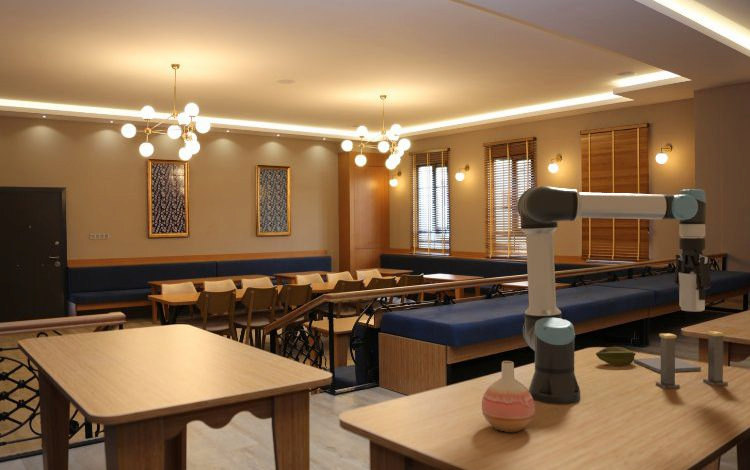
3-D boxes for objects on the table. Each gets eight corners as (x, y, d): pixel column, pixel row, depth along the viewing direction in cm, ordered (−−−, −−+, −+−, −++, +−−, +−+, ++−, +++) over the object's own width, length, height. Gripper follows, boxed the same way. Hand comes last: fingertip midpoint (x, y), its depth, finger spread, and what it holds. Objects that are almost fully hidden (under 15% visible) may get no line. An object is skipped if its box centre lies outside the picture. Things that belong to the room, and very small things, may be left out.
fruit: (629, 369, 224) (629, 351, 223) (595, 365, 231) (595, 347, 231) (637, 363, 233) (637, 345, 233) (604, 359, 240) (604, 342, 240)
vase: (524, 441, 155) (524, 371, 154) (473, 432, 162) (473, 364, 162) (541, 425, 167) (541, 359, 166) (493, 417, 174) (492, 354, 173)
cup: (709, 312, 198) (709, 274, 197) (682, 311, 199) (682, 274, 199) (701, 308, 206) (701, 272, 205) (675, 307, 207) (675, 271, 207)
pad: (659, 372, 219) (659, 369, 219) (633, 362, 235) (633, 359, 235) (700, 370, 221) (700, 367, 221) (672, 360, 237) (672, 357, 237)
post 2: (713, 386, 202) (714, 334, 201) (703, 382, 207) (703, 331, 206) (727, 385, 202) (728, 333, 202) (717, 381, 207) (717, 330, 207)
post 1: (665, 389, 199) (665, 336, 198) (655, 384, 204) (656, 333, 203) (679, 388, 200) (679, 335, 199) (669, 383, 205) (670, 332, 204)
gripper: (724, 238, 192) (724, 312, 193) (683, 236, 212) (682, 303, 213) (702, 238, 191) (702, 313, 192) (662, 236, 211) (662, 304, 212)
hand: (691, 308), depth 203 cm, fingers closed on cup, 7 cm apart
